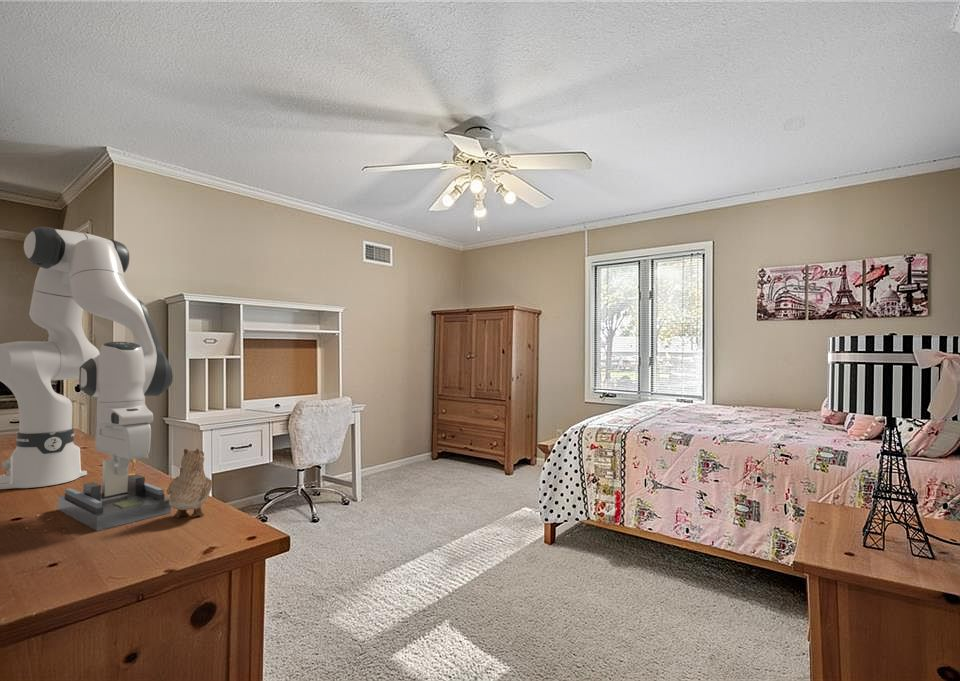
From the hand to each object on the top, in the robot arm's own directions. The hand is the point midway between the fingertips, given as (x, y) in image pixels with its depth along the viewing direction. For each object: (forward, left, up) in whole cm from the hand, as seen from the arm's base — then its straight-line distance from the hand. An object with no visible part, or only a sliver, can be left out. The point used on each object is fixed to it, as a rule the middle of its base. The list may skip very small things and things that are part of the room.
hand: (120, 474), depth 111 cm
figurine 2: (+15, +8, -9) cm, 19 cm away
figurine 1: (-22, +10, -9) cm, 26 cm away
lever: (-3, 0, -5) cm, 6 cm away
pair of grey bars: (-3, 0, -6) cm, 7 cm away
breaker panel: (-3, 0, -9) cm, 9 cm away
